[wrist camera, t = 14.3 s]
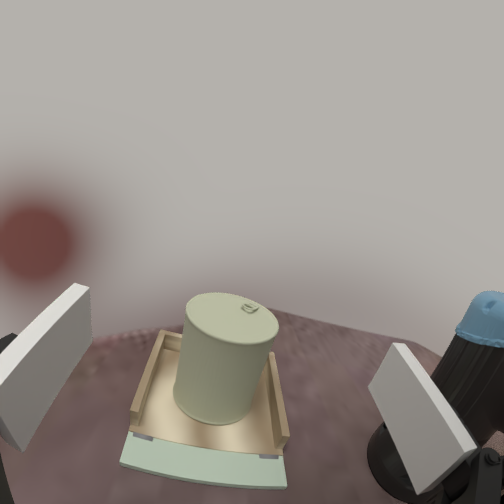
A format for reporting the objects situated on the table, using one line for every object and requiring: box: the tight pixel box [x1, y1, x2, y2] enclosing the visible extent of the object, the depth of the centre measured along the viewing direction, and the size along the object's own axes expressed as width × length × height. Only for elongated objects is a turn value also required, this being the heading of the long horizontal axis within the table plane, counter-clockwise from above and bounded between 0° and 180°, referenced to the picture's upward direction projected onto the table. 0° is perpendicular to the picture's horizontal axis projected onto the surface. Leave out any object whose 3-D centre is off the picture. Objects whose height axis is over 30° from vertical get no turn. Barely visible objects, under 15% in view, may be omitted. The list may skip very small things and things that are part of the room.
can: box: [173, 293, 279, 425], centre depth 29 cm, size 9×9×12 cm
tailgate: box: [120, 431, 287, 489], centre depth 22 cm, size 16×4×1 cm, turn 93°
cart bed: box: [129, 330, 290, 456], centre depth 30 cm, size 16×16×4 cm
